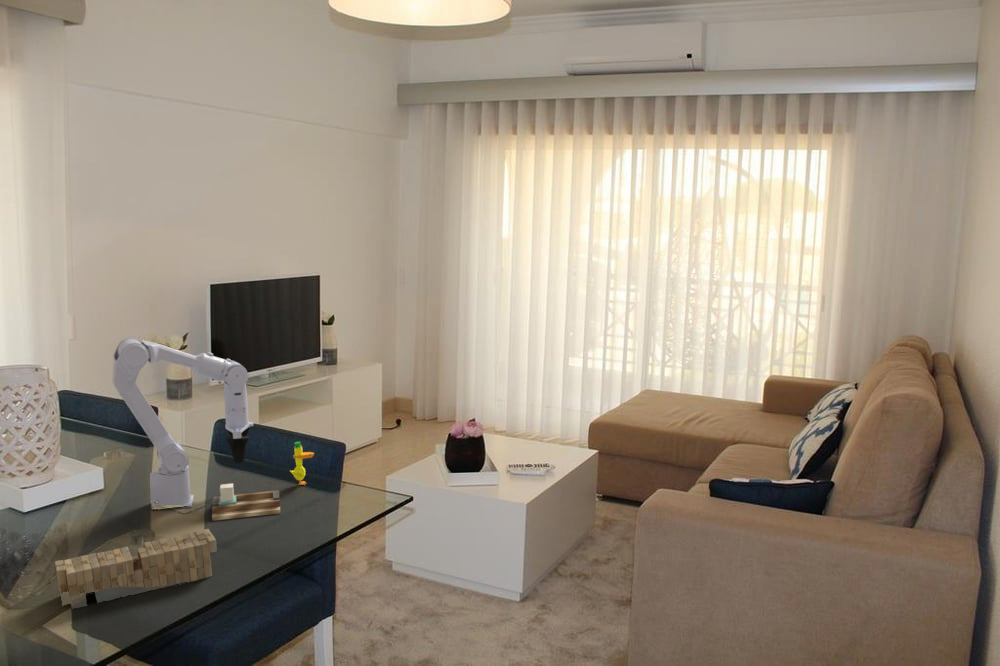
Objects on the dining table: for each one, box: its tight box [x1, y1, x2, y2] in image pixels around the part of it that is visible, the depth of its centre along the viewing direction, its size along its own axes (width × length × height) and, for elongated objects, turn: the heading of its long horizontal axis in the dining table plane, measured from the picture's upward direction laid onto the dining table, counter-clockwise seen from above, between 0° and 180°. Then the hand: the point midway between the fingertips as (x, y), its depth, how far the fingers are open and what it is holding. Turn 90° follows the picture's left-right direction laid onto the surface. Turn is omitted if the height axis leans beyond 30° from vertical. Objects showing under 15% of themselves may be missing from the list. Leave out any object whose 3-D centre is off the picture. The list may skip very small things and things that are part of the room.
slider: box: [219, 483, 237, 506], centre depth 210 cm, size 4×5×5 cm
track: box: [211, 490, 281, 521], centre depth 212 cm, size 16×12×3 cm
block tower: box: [54, 528, 218, 597], centre depth 170 cm, size 8×8×29 cm
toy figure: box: [289, 441, 315, 486], centre depth 228 cm, size 7×4×12 cm, turn 109°
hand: (239, 457), depth 222 cm, fingers open, 7 cm apart
